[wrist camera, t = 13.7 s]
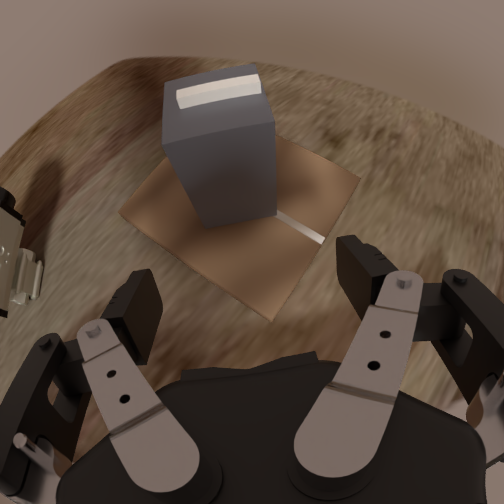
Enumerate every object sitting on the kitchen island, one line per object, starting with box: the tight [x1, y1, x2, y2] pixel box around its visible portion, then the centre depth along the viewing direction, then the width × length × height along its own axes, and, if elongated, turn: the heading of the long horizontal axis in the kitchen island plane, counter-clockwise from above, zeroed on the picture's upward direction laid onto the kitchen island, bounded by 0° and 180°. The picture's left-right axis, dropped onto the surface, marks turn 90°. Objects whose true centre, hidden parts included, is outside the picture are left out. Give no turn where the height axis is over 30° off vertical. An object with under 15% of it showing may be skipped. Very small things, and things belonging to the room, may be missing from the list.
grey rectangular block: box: [161, 64, 277, 229], centre depth 18 cm, size 6×6×11 cm
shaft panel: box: [118, 135, 361, 323], centre depth 22 cm, size 16×14×6 cm
